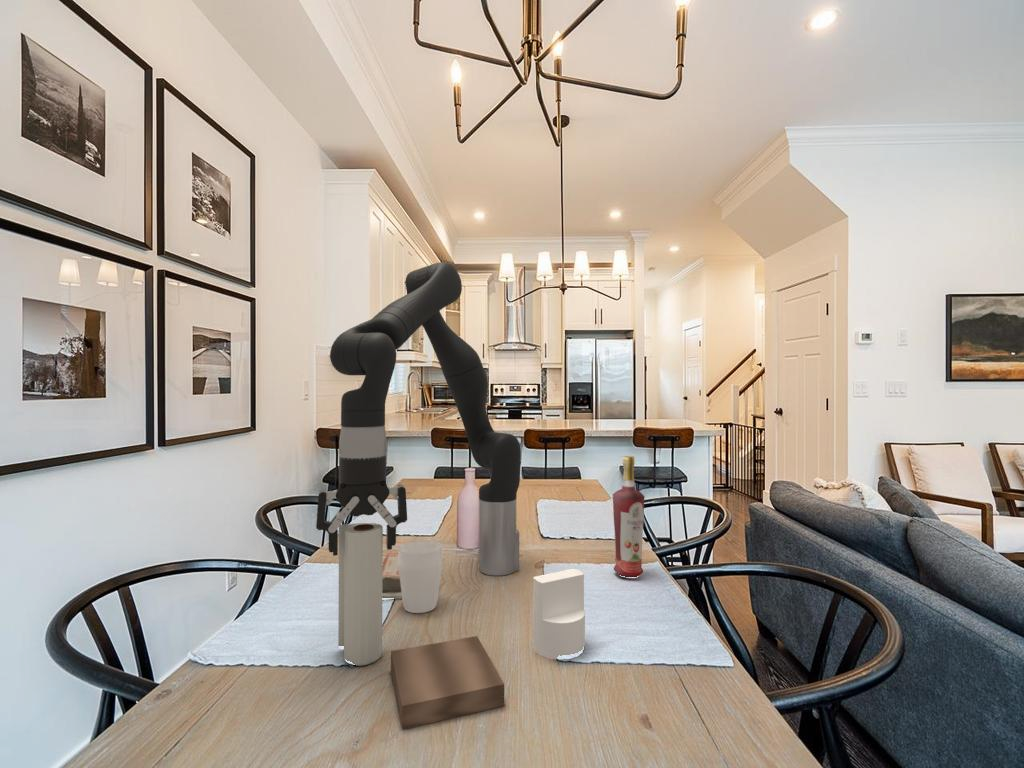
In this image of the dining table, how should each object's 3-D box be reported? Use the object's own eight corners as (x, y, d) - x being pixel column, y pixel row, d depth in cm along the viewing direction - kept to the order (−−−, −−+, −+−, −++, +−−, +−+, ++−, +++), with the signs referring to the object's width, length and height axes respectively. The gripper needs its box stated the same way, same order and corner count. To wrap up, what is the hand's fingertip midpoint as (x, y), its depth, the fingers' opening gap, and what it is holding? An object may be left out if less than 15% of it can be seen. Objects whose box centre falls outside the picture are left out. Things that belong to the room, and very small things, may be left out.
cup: (450, 600, 102) (450, 542, 102) (429, 619, 93) (429, 556, 93) (412, 594, 105) (412, 538, 105) (388, 612, 96) (388, 551, 96)
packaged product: (378, 551, 119) (419, 549, 120) (378, 571, 119) (419, 569, 120) (366, 580, 101) (415, 577, 102) (366, 603, 101) (415, 601, 102)
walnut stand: (477, 654, 81) (477, 635, 81) (504, 705, 68) (504, 684, 68) (390, 670, 76) (390, 651, 76) (402, 729, 63) (402, 706, 63)
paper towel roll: (387, 660, 79) (387, 528, 79) (348, 671, 76) (349, 534, 76) (374, 640, 85) (374, 518, 86) (338, 650, 82) (338, 523, 82)
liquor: (624, 583, 111) (624, 459, 111) (606, 572, 118) (606, 455, 118) (651, 578, 114) (651, 458, 114) (632, 567, 120) (632, 454, 120)
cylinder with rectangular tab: (550, 665, 78) (550, 590, 78) (523, 639, 86) (523, 571, 86) (595, 651, 82) (595, 580, 82) (565, 628, 90) (566, 563, 90)
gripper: (403, 448, 87) (403, 540, 87) (317, 452, 82) (317, 548, 82) (409, 454, 80) (409, 553, 80) (316, 458, 75) (315, 564, 75)
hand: (362, 551), depth 81 cm, fingers open, 8 cm apart
